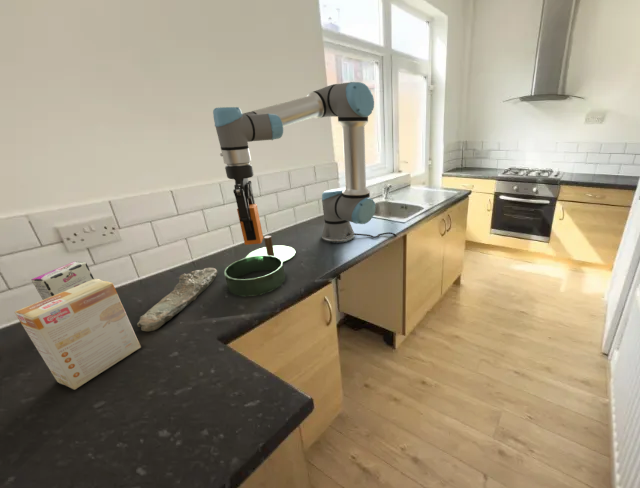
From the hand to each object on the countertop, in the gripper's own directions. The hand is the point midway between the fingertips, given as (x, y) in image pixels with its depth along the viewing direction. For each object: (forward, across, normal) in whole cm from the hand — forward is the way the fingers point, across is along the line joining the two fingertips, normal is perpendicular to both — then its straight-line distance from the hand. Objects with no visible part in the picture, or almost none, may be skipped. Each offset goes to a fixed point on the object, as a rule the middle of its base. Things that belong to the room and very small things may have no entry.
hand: (253, 236), depth 105 cm
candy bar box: (+18, +10, -50) cm, 54 cm away
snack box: (+2, 0, 0) cm, 2 cm away
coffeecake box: (+18, +33, -33) cm, 50 cm away
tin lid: (+18, -23, 0) cm, 29 cm away
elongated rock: (+18, +5, -24) cm, 31 cm away
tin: (+18, -1, -2) cm, 18 cm away
